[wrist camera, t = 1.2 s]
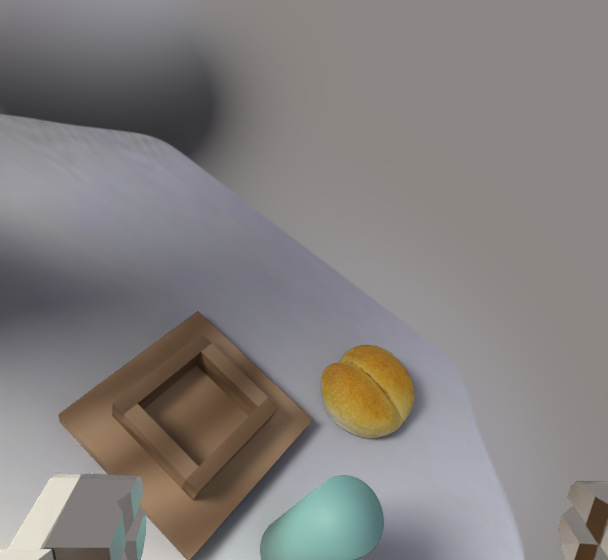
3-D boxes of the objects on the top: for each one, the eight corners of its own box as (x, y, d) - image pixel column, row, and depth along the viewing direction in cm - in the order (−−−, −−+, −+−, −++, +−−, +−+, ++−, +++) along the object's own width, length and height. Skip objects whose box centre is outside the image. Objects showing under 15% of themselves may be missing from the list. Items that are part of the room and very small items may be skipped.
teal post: (248, 551, 37) (296, 516, 28) (285, 505, 40) (341, 459, 31) (291, 597, 37) (356, 577, 27) (327, 547, 39) (396, 512, 30)
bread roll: (301, 389, 47) (315, 370, 44) (363, 342, 52) (379, 322, 49) (362, 462, 44) (382, 447, 41) (420, 406, 50) (441, 389, 47)
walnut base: (59, 421, 39) (56, 401, 35) (195, 319, 47) (202, 295, 44) (188, 561, 36) (196, 552, 33) (307, 425, 45) (322, 408, 42)
